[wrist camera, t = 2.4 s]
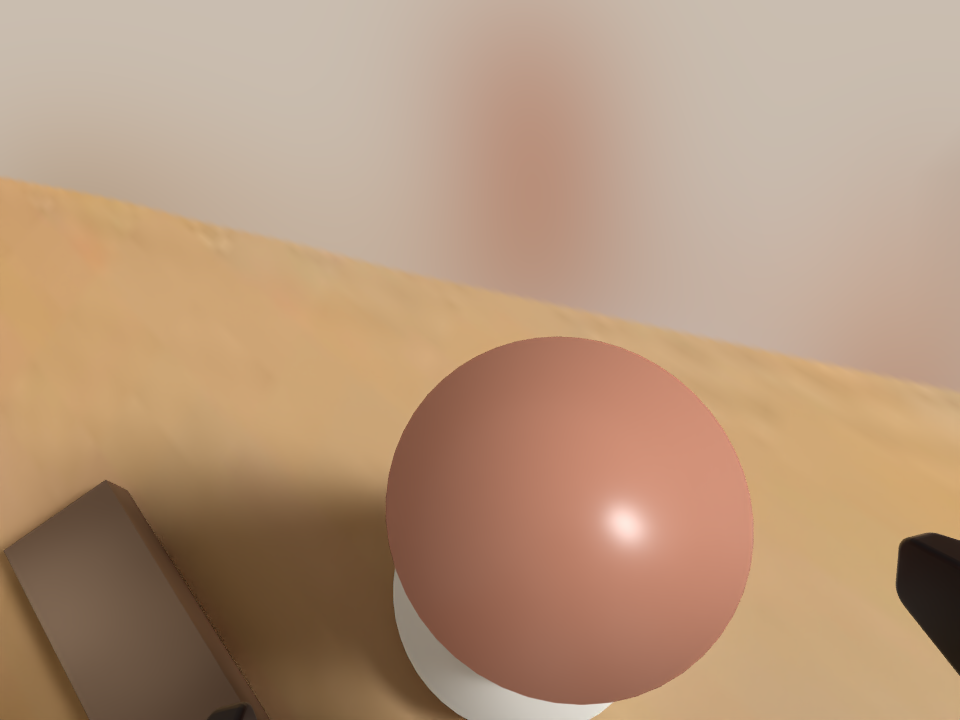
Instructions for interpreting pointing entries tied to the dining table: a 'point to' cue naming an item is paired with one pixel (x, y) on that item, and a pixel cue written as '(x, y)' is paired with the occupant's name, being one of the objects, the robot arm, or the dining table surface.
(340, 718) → the dining table surface
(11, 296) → the dining table surface
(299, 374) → the dining table surface
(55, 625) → the notched board
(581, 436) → the knob
